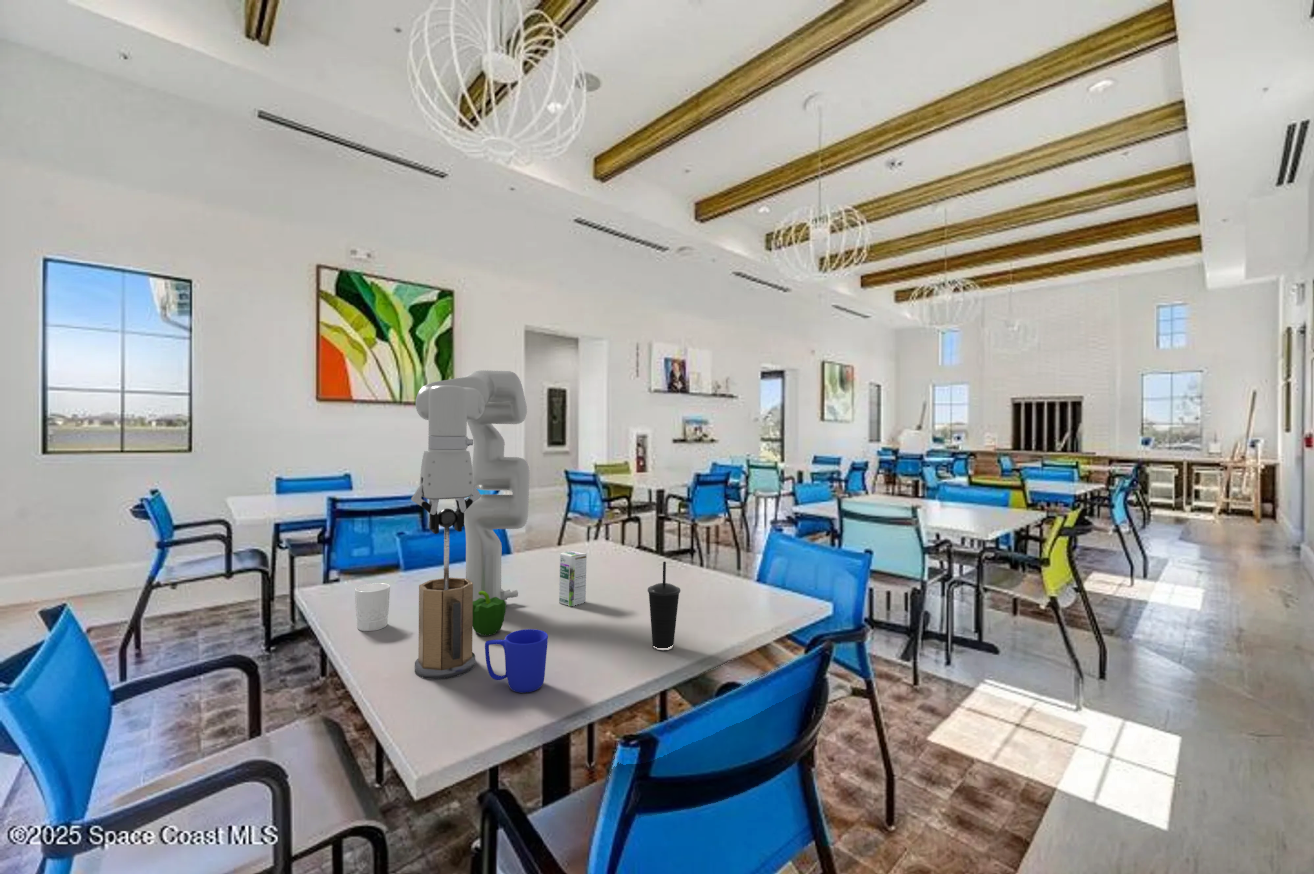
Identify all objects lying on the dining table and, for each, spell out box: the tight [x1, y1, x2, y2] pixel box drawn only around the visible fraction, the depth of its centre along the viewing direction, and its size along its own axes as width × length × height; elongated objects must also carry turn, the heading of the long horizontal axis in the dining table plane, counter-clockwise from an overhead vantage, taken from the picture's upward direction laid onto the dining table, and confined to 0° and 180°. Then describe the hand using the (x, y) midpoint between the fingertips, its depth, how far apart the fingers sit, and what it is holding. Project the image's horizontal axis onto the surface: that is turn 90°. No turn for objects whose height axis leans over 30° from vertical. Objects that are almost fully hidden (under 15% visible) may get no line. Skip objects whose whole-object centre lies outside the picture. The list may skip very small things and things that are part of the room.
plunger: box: [437, 508, 457, 590], centre depth 120 cm, size 8×8×19 cm
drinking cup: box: [647, 561, 681, 648], centre depth 133 cm, size 8×8×20 cm
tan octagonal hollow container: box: [414, 576, 476, 680], centre depth 119 cm, size 12×14×18 cm
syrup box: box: [558, 550, 588, 607], centre depth 165 cm, size 6×6×14 cm
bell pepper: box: [473, 591, 507, 636], centre depth 141 cm, size 8×8×10 cm
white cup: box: [354, 582, 391, 632], centre depth 143 cm, size 8×8×10 cm
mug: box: [484, 628, 549, 694], centre depth 111 cm, size 8×12×10 cm
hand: (446, 530), depth 120 cm, fingers closed on plunger, 4 cm apart
